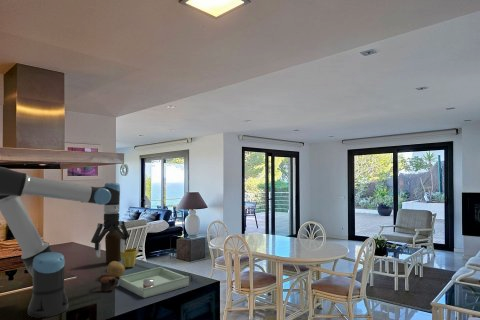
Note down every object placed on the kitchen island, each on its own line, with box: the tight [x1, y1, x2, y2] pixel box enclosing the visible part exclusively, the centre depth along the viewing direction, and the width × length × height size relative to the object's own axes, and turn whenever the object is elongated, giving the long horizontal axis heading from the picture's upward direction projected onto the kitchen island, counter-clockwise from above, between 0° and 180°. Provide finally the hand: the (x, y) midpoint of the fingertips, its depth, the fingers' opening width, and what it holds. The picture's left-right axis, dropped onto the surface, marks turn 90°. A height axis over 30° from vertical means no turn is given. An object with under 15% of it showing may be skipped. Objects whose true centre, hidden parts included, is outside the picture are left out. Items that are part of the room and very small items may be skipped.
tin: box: [143, 279, 154, 288], centre depth 165 cm, size 5×5×6 cm
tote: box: [118, 266, 190, 299], centre depth 177 cm, size 26×26×5 cm
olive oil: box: [104, 231, 122, 264], centre depth 225 cm, size 11×11×25 cm
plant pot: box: [121, 248, 138, 268], centre depth 214 cm, size 10×10×10 cm
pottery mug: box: [97, 274, 119, 292], centre depth 172 cm, size 12×9×8 cm
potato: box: [106, 261, 126, 278], centre depth 192 cm, size 10×14×8 cm
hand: (110, 254), depth 173 cm, fingers open, 13 cm apart
